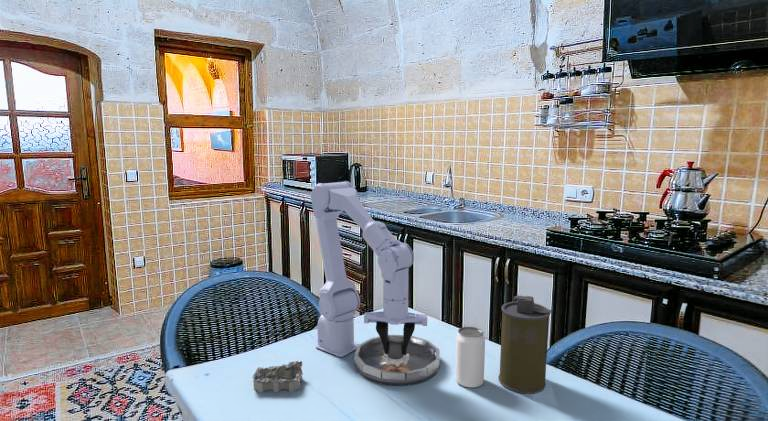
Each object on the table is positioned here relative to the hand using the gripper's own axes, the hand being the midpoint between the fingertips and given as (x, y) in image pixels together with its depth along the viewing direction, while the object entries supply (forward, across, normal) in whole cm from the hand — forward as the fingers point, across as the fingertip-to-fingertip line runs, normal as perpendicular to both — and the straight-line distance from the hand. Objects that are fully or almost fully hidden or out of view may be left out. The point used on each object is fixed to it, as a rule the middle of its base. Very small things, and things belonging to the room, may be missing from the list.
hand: (395, 352), depth 107 cm
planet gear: (+2, 0, 0) cm, 2 cm away
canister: (+6, +29, 0) cm, 30 cm away
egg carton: (+6, -26, -7) cm, 28 cm away
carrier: (+6, 0, +6) cm, 8 cm away
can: (+6, +17, -1) cm, 18 cm away
